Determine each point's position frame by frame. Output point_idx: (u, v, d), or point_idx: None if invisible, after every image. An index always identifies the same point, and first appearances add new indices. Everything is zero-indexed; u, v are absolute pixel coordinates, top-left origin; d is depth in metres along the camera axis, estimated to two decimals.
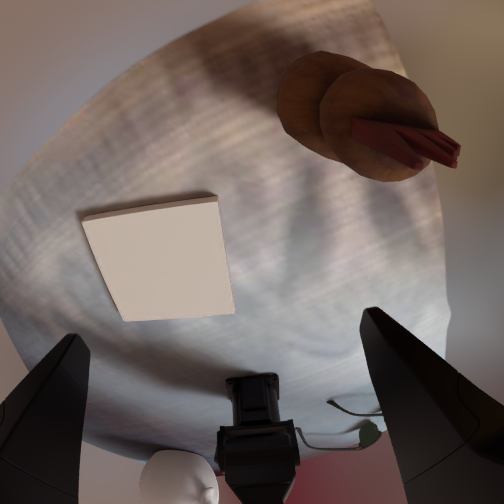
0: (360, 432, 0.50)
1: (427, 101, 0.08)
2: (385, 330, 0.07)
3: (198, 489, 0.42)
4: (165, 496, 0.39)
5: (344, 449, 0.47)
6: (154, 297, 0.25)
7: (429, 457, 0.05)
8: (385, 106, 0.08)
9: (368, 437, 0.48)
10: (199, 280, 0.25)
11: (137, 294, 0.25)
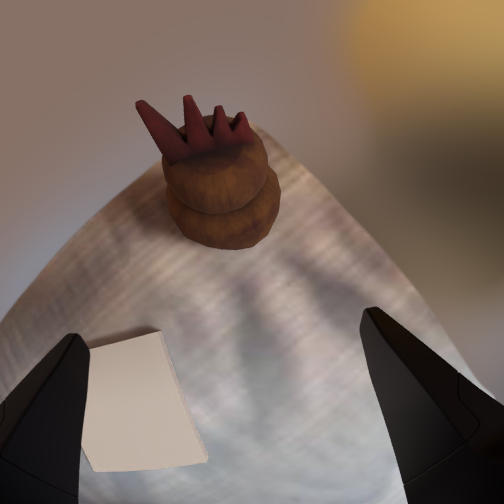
0: None
1: (230, 117, 0.13)
2: (385, 330, 0.07)
3: None
4: None
5: None
6: (118, 443, 0.19)
7: (429, 457, 0.05)
8: None
9: None
10: (157, 422, 0.19)
11: (101, 439, 0.19)
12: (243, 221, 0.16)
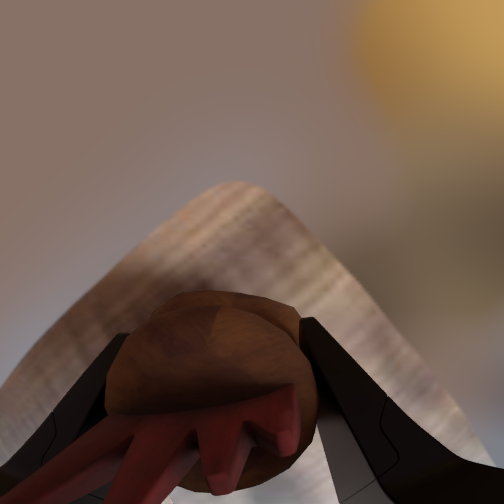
0: None
1: (242, 340, 0.05)
2: (314, 343, 0.07)
3: None
4: None
5: None
6: None
7: (351, 483, 0.05)
8: (145, 386, 0.05)
9: None
10: None
11: None
12: None
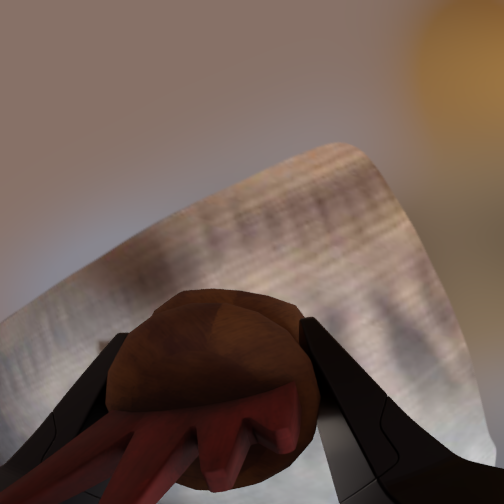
0: None
1: (242, 337, 0.05)
2: (314, 343, 0.07)
3: None
4: None
5: None
6: None
7: (352, 483, 0.05)
8: (145, 383, 0.05)
9: None
10: None
11: None
12: None
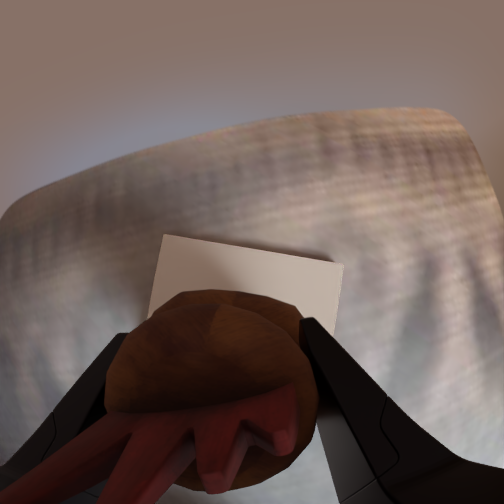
0: None
1: (241, 338, 0.05)
2: (314, 343, 0.07)
3: None
4: None
5: None
6: None
7: (352, 483, 0.05)
8: (144, 384, 0.05)
9: None
10: None
11: None
12: None
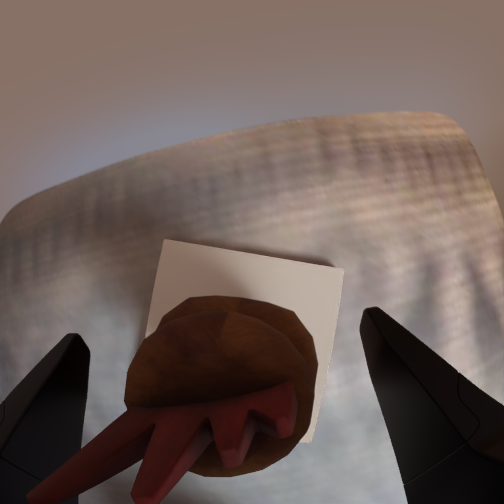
0: None
1: (247, 342, 0.06)
2: (385, 330, 0.07)
3: None
4: None
5: None
6: None
7: (429, 457, 0.05)
8: (163, 382, 0.06)
9: None
10: None
11: None
12: None
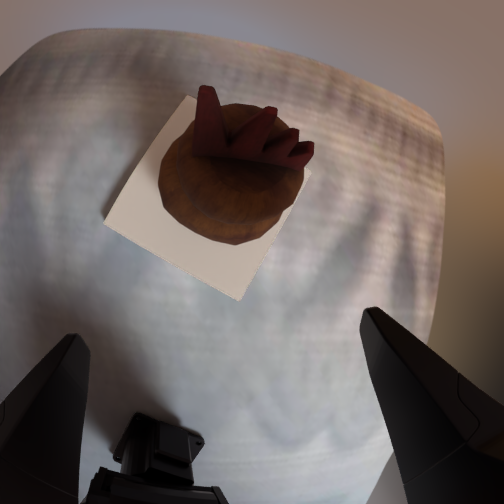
0: None
1: (284, 125, 0.10)
2: (385, 330, 0.07)
3: None
4: None
5: None
6: None
7: (429, 457, 0.05)
8: (230, 123, 0.09)
9: None
10: None
11: (158, 200, 0.19)
12: (238, 230, 0.14)
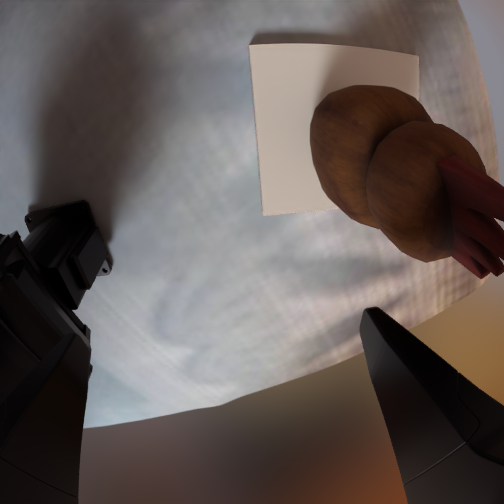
0: None
1: None
2: (385, 330, 0.07)
3: None
4: None
5: None
6: (302, 109, 0.16)
7: (429, 457, 0.05)
8: None
9: None
10: None
11: (309, 85, 0.15)
12: (355, 205, 0.12)
